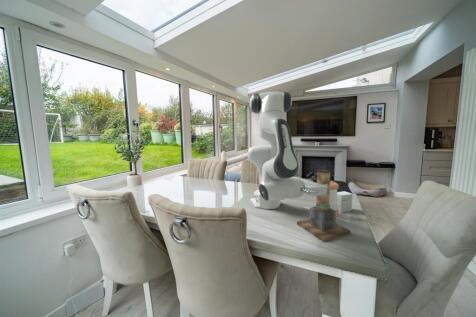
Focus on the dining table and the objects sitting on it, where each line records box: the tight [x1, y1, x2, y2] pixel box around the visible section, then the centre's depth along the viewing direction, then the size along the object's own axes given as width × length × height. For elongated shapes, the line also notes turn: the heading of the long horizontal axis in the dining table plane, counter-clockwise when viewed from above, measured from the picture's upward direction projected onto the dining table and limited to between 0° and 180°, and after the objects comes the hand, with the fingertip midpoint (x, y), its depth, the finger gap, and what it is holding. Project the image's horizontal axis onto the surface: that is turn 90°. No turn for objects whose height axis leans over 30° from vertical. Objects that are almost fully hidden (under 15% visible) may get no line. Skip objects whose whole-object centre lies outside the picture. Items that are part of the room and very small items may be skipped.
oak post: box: [315, 168, 331, 212], centre depth 94 cm, size 4×4×21 cm
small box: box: [337, 190, 353, 214], centre depth 117 cm, size 8×6×10 cm
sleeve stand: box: [296, 205, 351, 243], centre depth 96 cm, size 18×16×10 cm
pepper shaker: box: [329, 180, 340, 217], centre depth 112 cm, size 7×7×19 cm
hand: (319, 183), depth 93 cm, fingers open, 8 cm apart
